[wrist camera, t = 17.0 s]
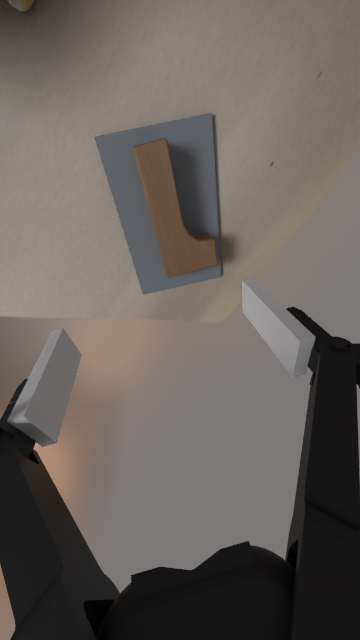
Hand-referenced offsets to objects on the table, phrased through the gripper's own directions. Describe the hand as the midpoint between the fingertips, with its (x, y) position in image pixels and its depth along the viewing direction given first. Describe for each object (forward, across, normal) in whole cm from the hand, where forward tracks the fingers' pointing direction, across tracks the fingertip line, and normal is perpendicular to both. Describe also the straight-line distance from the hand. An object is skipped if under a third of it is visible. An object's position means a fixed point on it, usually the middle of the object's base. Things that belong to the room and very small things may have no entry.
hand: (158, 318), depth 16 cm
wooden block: (+23, +6, -7) cm, 25 cm away
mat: (+26, +5, +1) cm, 26 cm away
